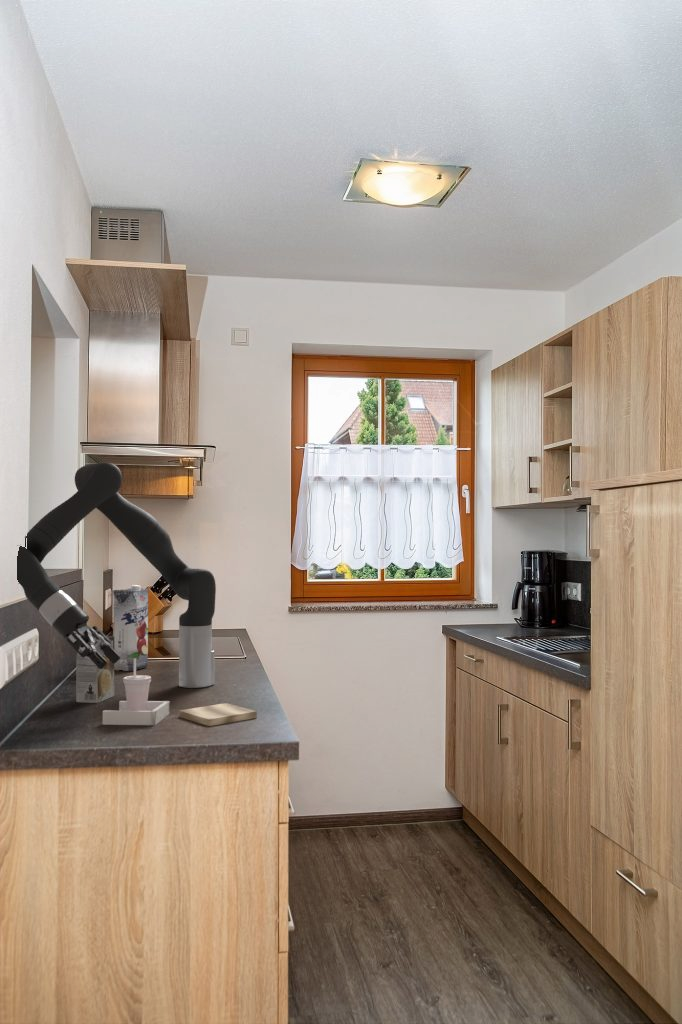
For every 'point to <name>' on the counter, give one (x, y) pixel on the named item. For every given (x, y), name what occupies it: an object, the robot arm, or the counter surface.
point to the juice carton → (130, 627)
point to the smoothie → (137, 691)
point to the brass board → (217, 714)
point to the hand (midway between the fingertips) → (111, 663)
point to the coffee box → (94, 679)
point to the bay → (137, 714)
